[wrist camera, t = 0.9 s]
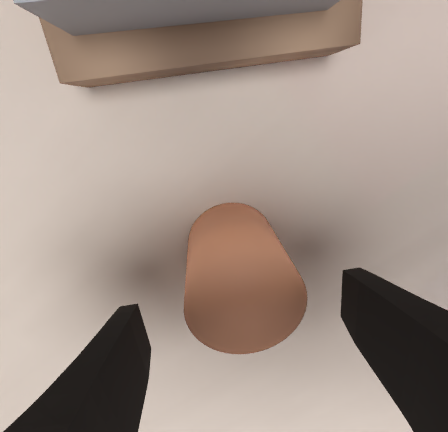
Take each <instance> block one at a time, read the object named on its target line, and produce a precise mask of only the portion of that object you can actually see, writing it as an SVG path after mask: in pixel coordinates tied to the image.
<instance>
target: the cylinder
mask: <svg viewBox="0 0 448 432" xmlns="http://www.w3.org/2000/svg"><path fill="white" fill-rule="evenodd" d="M306 306H307V291H306V287H305V284H304V282H303V280H302V278H301V276H300V274H299V273H298V271H297V269H296V268H295V266H294V264H293V263H292V261H291V259H290V258H289V256H288V254H287V253H286V251H285V249H284V248H283V246H282V244H281V243H280V241H279V239H278V238H277V236H276V234H275V233H274V231H273V229H272V228H271V226H270V224H269V223H268V221H267V220H266V218H265V217H264V216H263V215H262V214H261V213H260V212H259V211H258V210H256V209H254V208H253V207H250V206H248V205H245V204H240V203H225V204H220V205H217V206H214V207H212V208H210V209H208V210H207V211H205V212H204V213H203V214H202V215H200V216H199V218H198V219H197V220H196V221H195V223H194V224H193V226H192V228H191V231H190V234H189V239H188V253H187V268H186V282H185V297H184V316H185V320H186V323H187V325H188V327H189V329H190V331H191V332H192V334H193V335H194V336H195V337H196V338H197V339H198V340H199V341H200V342H202V343H203V344H204V345H206V346H208V347H210V348H212V349H214V350H217V351H220V352H224V353H230V354H248V353H254V352H259V351H262V350H265V349H268V348H270V347H273V346H275V345H276V344H278V343H280V342H281V341H283V340H284V339H286V338H287V337H288V336H289V335H290V334H291V333H292V332H293V331H294V330H295V329H296V328H297V326H298V325H299V323H300V322H301V320H302V318H303V316H304V313H305V311H306Z"/></svg>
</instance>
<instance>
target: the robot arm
mask: <svg viewBox="0 0 448 432" xmlns="http://www.w3.org/2000/svg"><path fill="white" fill-rule="evenodd" d="M341 318H342V320H343V322H344V324H345V326H346V328H347V330H348V332H349V333H350V335H351V337H352V339H353V341H354V343H355V344H356V346H357V347H358V349H359V350H360V352H361V353H362V355H363V356H364V358H365V359H366V361H367V362H368V364H369V365H370V367H371V368H372V370H373V371H374V373H375V374H376V375H377V377H378V378H379V380H380V381H381V383H382V384H383V386H384V387H385V389H386V390H387V391H388V393H389V394H390V396H391V397H392V399H393V400H394V402H395V403H396V405H397V406H398V408H399V409H400V411H401V412H402V414H403V415H404V417H405V418H406V420H407V422H408V423H409V425H410V426H411V428H412V430H413V432H448V310H445V309H443V308H441V307H439V306H437V305H435V304H433V303H430V302H428V301H426V300H424V299H422V298H420V297H418V296H416V295H414V294H412V293H410V292H408V291H406V290H404V289H402V288H400V287H398V286H396V285H394V284H392V283H390V282H388V281H386V280H384V279H382V278H380V277H379V276H377V275H375V274H372V273H370V272H368V271H366V270H364V269H362V268H354V269H348V270H343V277H342V299H341ZM150 358H151V346H150V343H149V339H148V336H147V333H146V329H145V326H144V323H143V319H142V316H141V313H140V310H139V306H138V304H133V305H127V306H121V307H119V308H118V309H117V311H116V312H115V313H114V314H113V315H112V316H111V318H110V319H109V320H108V321H107V322H106V324H105V325H104V326H103V327H102V328H101V330H100V331H99V332H98V333H97V334H96V336H95V337H94V338H93V339H92V340H91V341H90V343H89V344H88V345H87V346H86V347H85V348H84V350H83V351H82V352H81V353H80V354H79V355H78V357H77V358H76V359H75V360H74V361H73V362H72V363H71V364H70V365H69V366H68V367H67V369H66V370H65V371H64V372H63V373H62V374H61V375H60V376H59V377H58V378H57V379H56V380H55V382H54V383H53V384H52V385H51V386H50V387H49V388H48V389H47V390H46V391H45V392H44V393H43V394H42V395H41V396H40V397H39V398H38V399H37V400H36V401H35V402H34V403H33V404H32V405H31V406H30V407H29V408H28V409H27V410H26V411H25V412H24V413H23V414H22V415H21V416H20V417H18V418H17V419H16V420H15V421H14V422H13V423H12V424H11V425H10V426H9V427H8V428H7V429H6V430H5V431H4V432H138V429H139V424H140V419H141V414H142V409H143V404H144V399H145V395H146V390H147V384H148V379H149V369H150Z"/></svg>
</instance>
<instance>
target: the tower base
mask: <svg viewBox="0 0 448 432" xmlns="http://www.w3.org/2000/svg"><path fill="white" fill-rule="evenodd" d="M361 18H362V0H340V1H339V2H337V3H336V4H335V5H333V6H332V7H330V8H329V9H328V10H323V11H313V12H304V13H294V14H284V15H274V16H264V17H254V18H245V19H235V20H225V21H215V22H205V23H195V24H185V25H176V26H166V27H156V28H146V29H136V30H126V31H116V32H107V33H97V34H87V35H77V36H73V35H71V34H69V33H67V32H65V31H64V30H62V29H60V28H58V27H56V26H55V25H53V24H51V23H49V22H47V21H45V20H44V19H42V18H40V17H39V19H40V22H41V25H42V28H43V32H44V35H45V38H46V41H47V44H48V47H49V50H50V54H51V57H52V60H53V63H54V66H55V69H56V72H57V76H58V79H59V82H60V83H61V84H68V85H74V86H81V87H95V86H102V85H110V84H117V83H125V82H133V81H140V80H148V79H155V78H163V77H170V76H178V75H185V74H193V73H200V72H208V71H215V70H223V69H230V68H238V67H246V66H253V65H261V64H268V63H276V62H283V61H291V60H298V59H306V58H313V57H321V56H328V55H331V54H334V53H337V52H339V51H342V50H345V49H347V48H350V47H353V46H355V45H358V44H360V37H361Z"/></svg>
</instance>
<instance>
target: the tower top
mask: <svg viewBox="0 0 448 432" xmlns="http://www.w3.org/2000/svg"><path fill="white" fill-rule="evenodd" d="M13 1H14V4H16V5H18V6H20V7H22V8H24V9H25V10H27V11H29V12H31V13H33V14H34V15H36V16H38V17H40V18H42V19H44V20H45V21H47V22H49V23H51V24H53V25H55V26H56V27H58V28H60V29H62V30H64V31H65V32H67V33H69V34H71V35H73V36H77V35H87V34H97V33H107V32H116V31H126V30H136V29H146V28H156V27H166V26H176V25H185V24H195V23H205V22H215V21H225V20H235V19H245V18H254V17H264V16H274V15H284V14H294V13H304V12H313V11H323V10H328V9H329V8H330V7H332V6H333V5H335V4H336V3H337V2H339V1H340V0H13Z"/></svg>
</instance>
